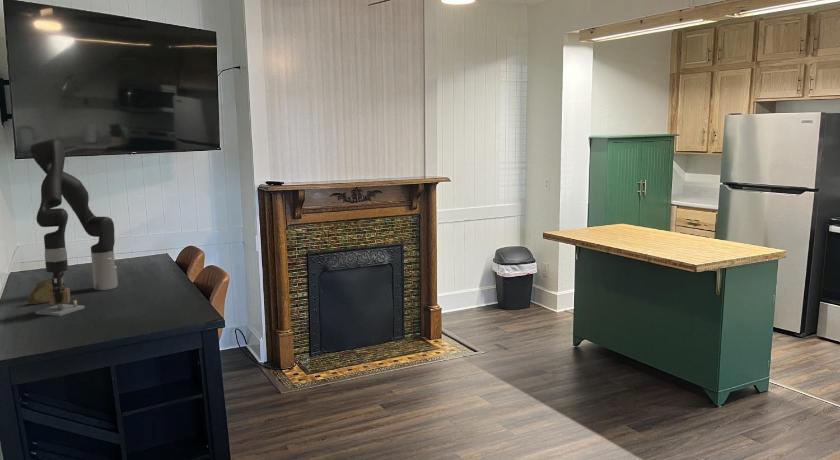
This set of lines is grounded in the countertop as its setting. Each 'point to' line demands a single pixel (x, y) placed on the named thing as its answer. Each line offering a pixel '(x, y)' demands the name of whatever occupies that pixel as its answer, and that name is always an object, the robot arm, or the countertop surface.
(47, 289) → the rock
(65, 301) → the wooden square frame
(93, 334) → the countertop surface
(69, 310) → the post board
